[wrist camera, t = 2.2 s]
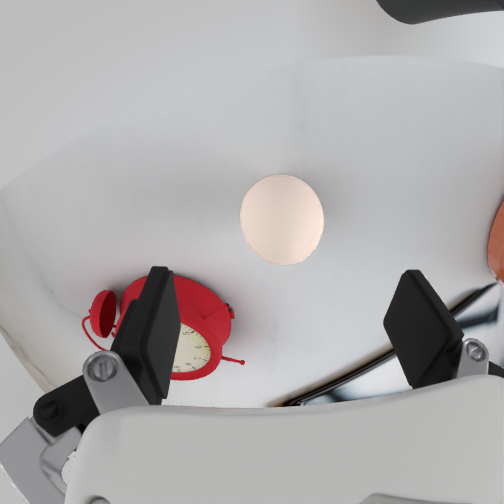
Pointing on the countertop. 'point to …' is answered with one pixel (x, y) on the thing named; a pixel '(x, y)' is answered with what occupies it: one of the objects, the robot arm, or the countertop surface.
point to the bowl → (497, 247)
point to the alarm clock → (192, 325)
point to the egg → (282, 219)
